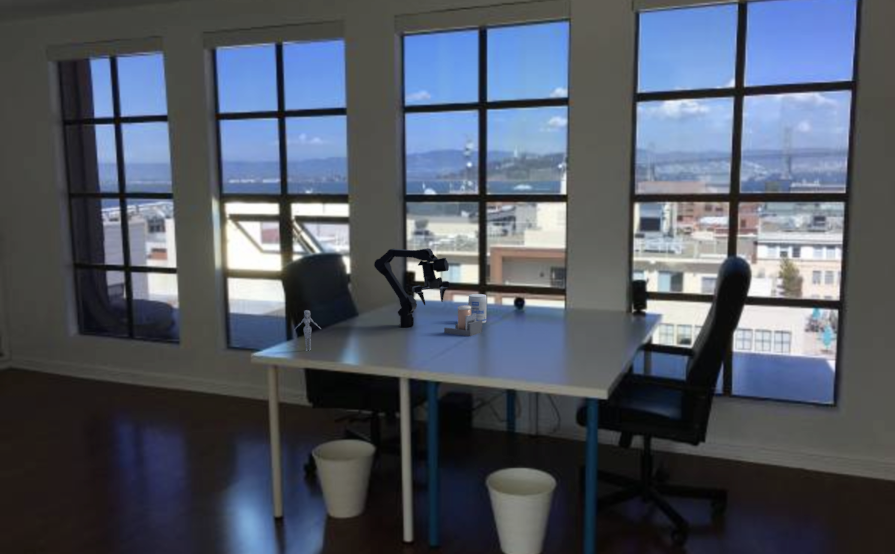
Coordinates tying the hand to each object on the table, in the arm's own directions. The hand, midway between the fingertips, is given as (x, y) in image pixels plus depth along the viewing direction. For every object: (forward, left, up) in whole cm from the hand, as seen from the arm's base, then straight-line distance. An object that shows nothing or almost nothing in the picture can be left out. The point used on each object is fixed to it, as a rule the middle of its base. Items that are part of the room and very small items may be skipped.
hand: (433, 303), depth 360 cm
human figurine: (-63, -34, -13) cm, 73 cm away
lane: (+12, -17, -13) cm, 24 cm away
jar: (+12, -18, -12) cm, 25 cm away
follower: (+14, -20, -13) cm, 28 cm away
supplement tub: (+25, +8, -13) cm, 29 cm away
